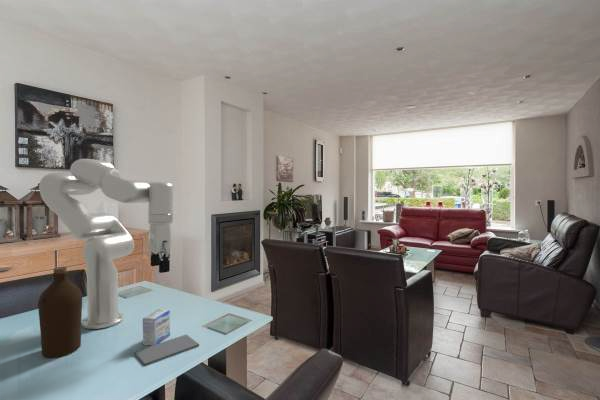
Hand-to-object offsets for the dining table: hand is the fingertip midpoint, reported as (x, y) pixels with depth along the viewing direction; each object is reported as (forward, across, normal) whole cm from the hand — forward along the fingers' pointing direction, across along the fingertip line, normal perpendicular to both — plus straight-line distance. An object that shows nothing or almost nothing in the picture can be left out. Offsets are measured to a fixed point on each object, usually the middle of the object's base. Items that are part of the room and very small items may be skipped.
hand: (159, 268), depth 108 cm
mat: (+21, +15, -2) cm, 26 cm away
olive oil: (+22, -4, -26) cm, 35 cm away
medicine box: (+22, +6, -2) cm, 23 cm away
